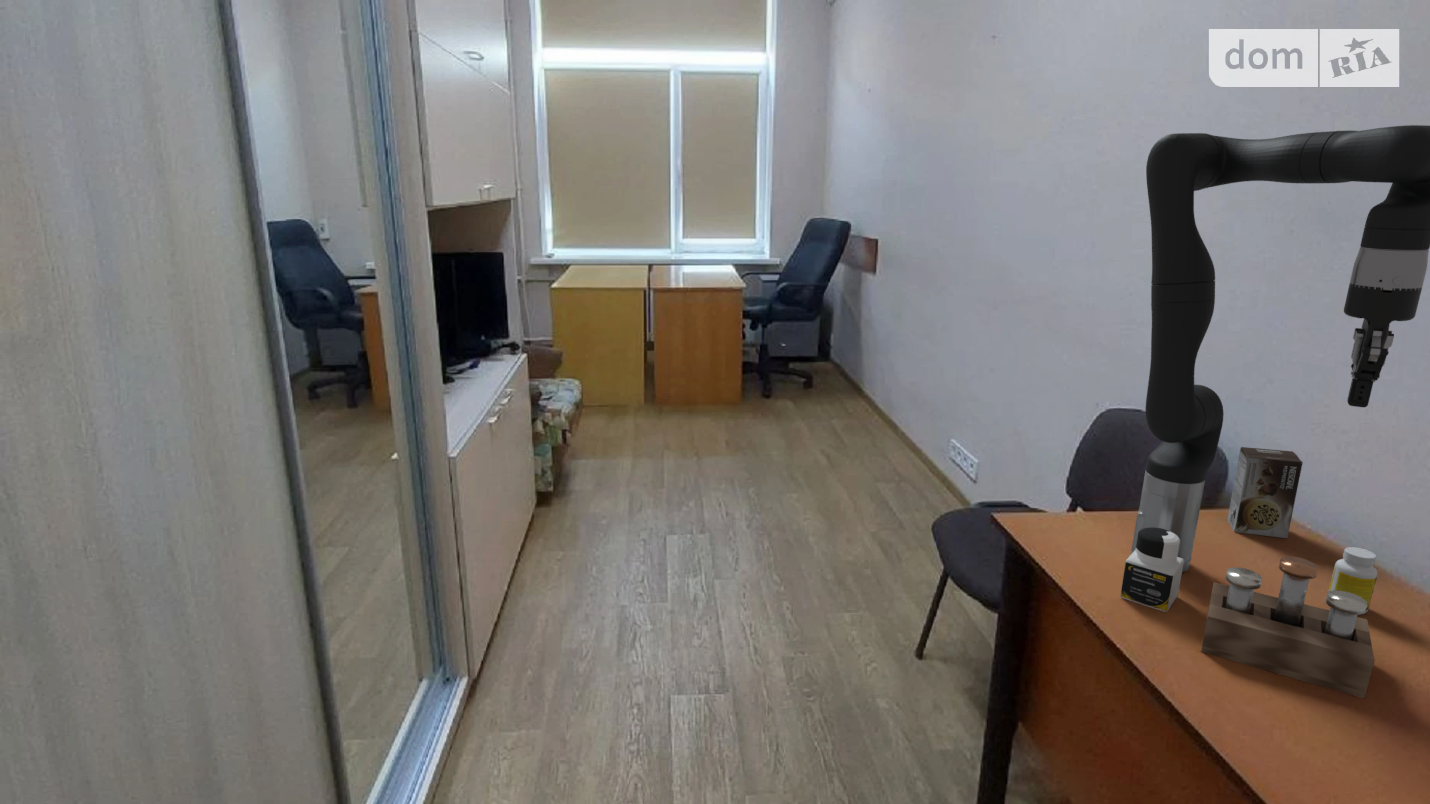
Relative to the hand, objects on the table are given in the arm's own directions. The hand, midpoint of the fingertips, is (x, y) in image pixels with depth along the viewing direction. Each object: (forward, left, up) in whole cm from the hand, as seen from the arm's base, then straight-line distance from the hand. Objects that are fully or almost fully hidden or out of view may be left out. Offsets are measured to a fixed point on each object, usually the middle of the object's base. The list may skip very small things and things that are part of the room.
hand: (1356, 405), depth 109 cm
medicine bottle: (-21, -1, -37) cm, 43 cm away
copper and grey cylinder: (-3, -8, -32) cm, 34 cm away
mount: (-3, -8, -37) cm, 38 cm away
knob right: (+3, -8, -36) cm, 37 cm away
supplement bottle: (+6, +14, -37) cm, 40 cm away
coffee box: (-7, +40, -37) cm, 55 cm away
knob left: (-9, -8, -36) cm, 38 cm away
